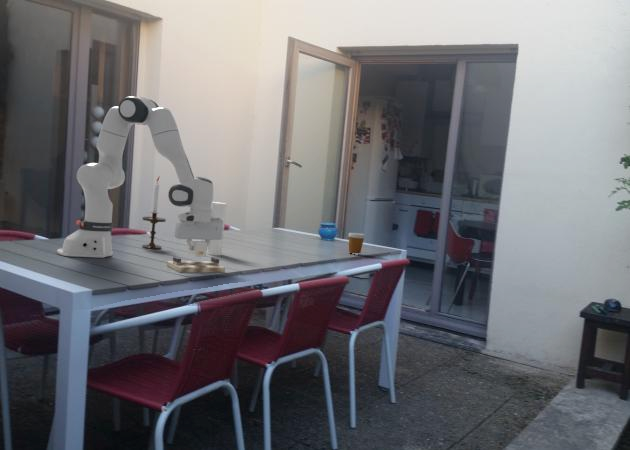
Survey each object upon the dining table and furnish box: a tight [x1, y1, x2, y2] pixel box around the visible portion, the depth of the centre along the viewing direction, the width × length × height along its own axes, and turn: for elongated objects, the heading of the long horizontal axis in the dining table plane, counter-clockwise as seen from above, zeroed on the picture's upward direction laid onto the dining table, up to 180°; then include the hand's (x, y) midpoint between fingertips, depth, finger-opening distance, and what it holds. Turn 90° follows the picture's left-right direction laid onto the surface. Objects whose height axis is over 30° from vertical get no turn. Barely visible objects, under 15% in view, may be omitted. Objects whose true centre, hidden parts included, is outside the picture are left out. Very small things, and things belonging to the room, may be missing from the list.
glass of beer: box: [348, 232, 366, 254], centre depth 373 cm, size 10×10×12 cm
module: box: [188, 239, 207, 258], centre depth 271 cm, size 4×8×6 cm, turn 34°
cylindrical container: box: [206, 201, 227, 256], centre depth 317 cm, size 7×7×25 cm
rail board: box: [166, 256, 226, 273], centre depth 272 cm, size 20×14×5 cm
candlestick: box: [141, 175, 167, 250], centre depth 314 cm, size 11×11×35 cm
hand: (197, 250), depth 271 cm, fingers closed on module, 4 cm apart
